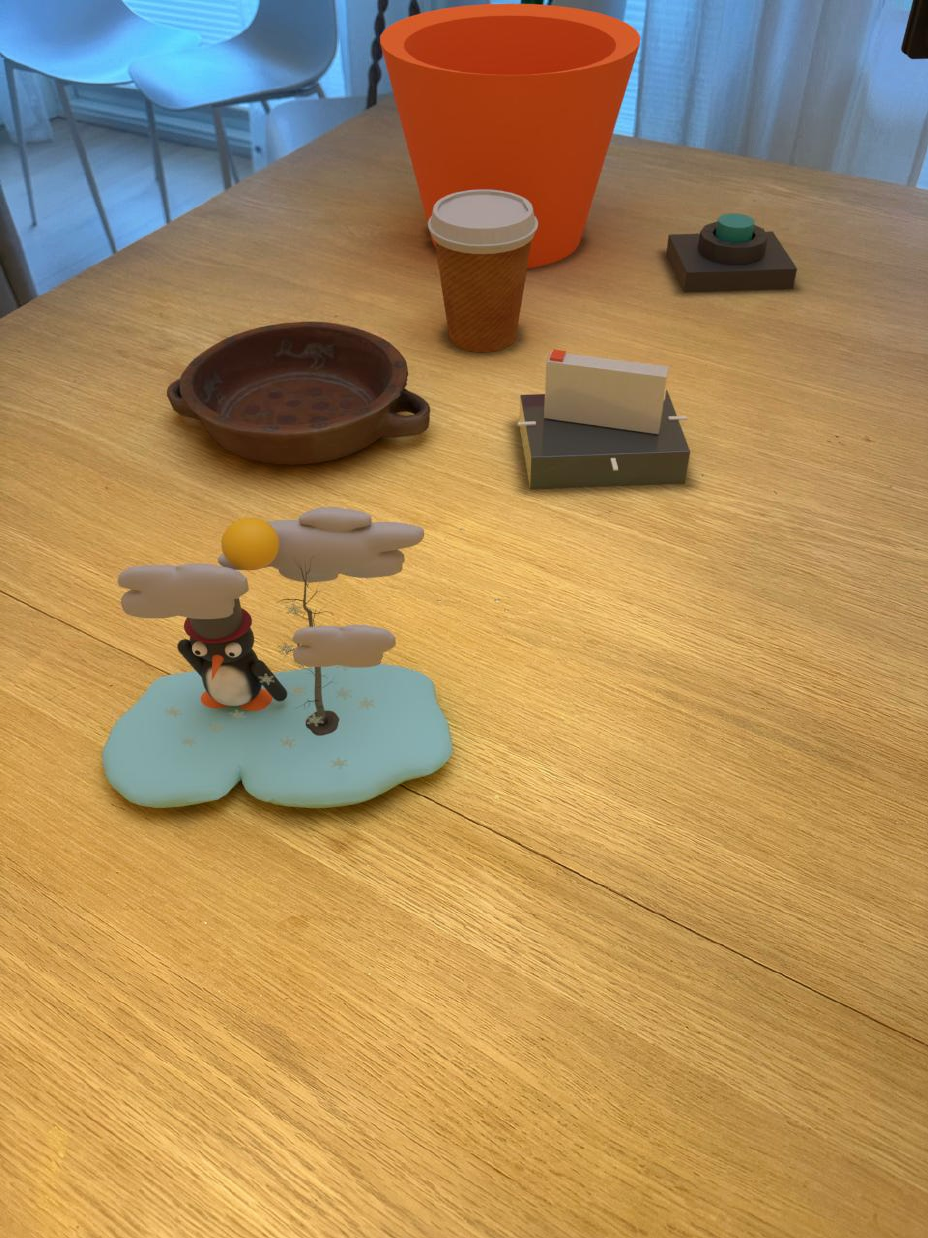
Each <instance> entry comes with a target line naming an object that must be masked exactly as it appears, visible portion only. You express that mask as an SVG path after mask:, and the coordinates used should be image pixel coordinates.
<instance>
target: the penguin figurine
mask: <svg viewBox="0 0 928 1238" xmlns="http://www.w3.org/2000/svg"><path fill="white" fill-rule="evenodd" d="M372 521H373V520H372V515H371V514H370V513H368V512H365V511H361V510H356V509H352V508H344V507H337V506H336V507H335V506H325V507H316V508H313V509H310V510H308V511H306V512H304V513H302V514H301V515H299V517H298V519H279V520H269V521H265V520H263V519H261V518H257V517H243V518H239V519H237V520H235V521H233V522H232V523H230V524H229V526H228V527H226V529H225V530H224V532H223V534H222V536H221V544H220V545H221V550H222V554H220V555H219V556H218V557H217V562H218V564H219V565H217V564H212V563H211V564H210V563H184V564H178V565H170V564H148V565H136V566H135V565H134V566H129V567H128V568H125V569H124V570H122V571H121V572H120V573H119V574H118V578H117V584H118V586H119V587H120V588H122V589H127V591H126V592H124V593H123V594H122V595H121V598H120V605H121V608H122V611H123V613H125V614H126V615H128V616H130V617H133V618H139V619H170V618H173V617H183V618H185V620H184V623H183V630H184V632H185V633H186V635H187V636H188V637H189V639H186V638H183V639H181V640H179V641H178V643H177V645H176V649H177V651H178V652H179V654H180V655H181V656H182V657H183V658H184V659H185V660H186V662H187V663H188V664H189V665H190V666H191V667H192V668H193V670H191V671H184V672H177V673H172V674H171V673H170V674H167V675H164V676H159V678H156V679H154V680H153V681H152V682H151V683H150V685H149V686H148V687H147V689H146V690H145V691H144V693H142V695H141V697H140V698H139V699H138V701H137V702H136V703H134V705H132V706H131V707H130V708H129V709H127V710H126V711H125V712H124V713H123V714H122V715H121V716H120V717H119V718H118V719H117V721H116V722H115V723H114V725H113V726H112V728H111V729H110V732H109V734H108V738H107V740H106V741H105V744H104V745H103V748H102V753H101V758H102V759H101V760H102V762H101V765H102V767H103V769H104V774H105V778H106V780H107V782H108V783H109V784H110V786H111V787H112V788H113V789H114V790H115V791H117V793H118V794H119V795H120V796H121V797H122V798H124V799H126V800H127V801H128V802H130V803H132V804H134V805H138V806H141V807H149V808H154V809H166V808H167V809H168V808H179V807H180V808H181V807H186V806H193V805H199V804H204V803H209V802H213V801H217V800H220V799H221V798H223V797H224V796H227V795H228V793H230V791H231V790H232V789H233V788H234V787H235V786H236V785H237V784H238V783H239V782H242V785H243V787H244V790H245V791H246V792H247V793H248V794H250V796H252V797H253V798H255V799H257V800H258V801H262V802H266V803H270V804H271V803H272V804H273V805H277V806H282V807H293V808H308V809H328V808H340V807H346V806H352V805H357V804H361V803H365V802H368V801H370V800H372V799H374V798H376V797H379V796H381V795H383V794H385V793H387V792H388V791H390V790H391V789H394V788H395V787H396V786H399V785H401V784H403V783H404V782H407V781H411V780H415V779H418V778H423V777H427V776H430V775H432V774H433V773H435V772H437V771H438V770H440V769H442V767H444V765H446V763H447V762H448V760H450V757H452V754H453V752H454V751H453V750H454V749H453V748H454V747H453V741H452V736H451V730H450V724H449V721H448V720H447V717H446V715H445V714H444V712H443V710H442V709H441V707H440V705H439V703H438V700H437V699H438V698H437V694H436V688H435V684H434V681H433V680H432V679H431V678H430V677H429V676H428V675H426V674H424V673H422V671H421V672H420V671H418V670H414V669H411V668H408V667H404V666H400V665H392V664H387V663H382V660H383V657H384V653H386V652H388V651H390V650H392V649H393V648H395V647H396V645H397V641H396V639H397V638H396V636H395V635H394V633H392V632H391V631H389V630H388V629H385V628H383V627H378V626H373V625H367V624H347V625H342V626H338V625H337V626H336V625H323V623H321V624H320V625H317V626H316V625H315V624H316V623H315V617H316V615H319V614H323V613H328V611H322V609H320V610H319V611H318V612H317V610H314V611H312V610H311V609H310V608H308V607H307V604H308V603H309V602H310V601H311V600H312V599H313V598H314V597H315V596H316V594H318V592H319V593H320V590H316V591H315V592H314V594H313V595H312V596H311V598H310V599H308V601H307V588H308V589H310V590H311V591H312V590H313V589H312V588H311V587H310V586H309V584H310V583H312V584H313V583H318V585H317V586H316V588H318V586H319V584H321V582H329V581H330V582H331V581H335V580H337V579H338V577H339V575H343V576H346V577H351V578H357V579H375V578H376V579H377V578H385V577H391V576H395V575H398V574H400V573H401V572H402V571H403V564H404V563H405V562H406V561H405V560H406V559H405V557H406V556H405V554H404V553H403V552H402V551H401V550H403V549H407V548H408V549H409V548H411V547H414V546H417V545H418V544H420V543H421V542H422V541H423V539H424V537H425V529H424V528H423V527H422V526H418V525H415V524H410V523H406V522H405V523H404V522H397V521H373V522H372ZM269 567H272V568H274V569H276V570H278V572H279V575H280V576H283V578H286V579H289V580H291V581H295V582H300V583H304V588H303V599H299V598H288V597H286V596H285V598H284V599H281V600H279V601H277V602H276V604H278V603H280V602H283V601H285V602H284V604H286V603H287V604H288V601H290V603H292V604H291V606H285V609H287V611H285V614H286V615H287V614H288V615H289V614H293V615H294V617H297V616H299V617H300V618H302V619H303V620H307V621H308V626H306V627H302V628H300V629H297V631H295V632H294V634H293V637H292V639H291V638H290V637H288V639H289V640H291V641H292V642H293V643H295V644H296V645H297V646H296V647H295V648H293V647H294V644H290V645H288V643H287V642H286V641H284V642H283V645H277V648H280V650H279V653H281V654H280V656H281V655H284V654H285V656H284V657H286V656H288V655H289V654H290V652H292V657H293V661H294V663H295V664H297V665H299V668H298V669H290V670H284V671H277V672H272V670H271V669H270V668H269V667H268V666H267V664H266V663H265V662H264V661H263V660H261V659H259V657H258V655H257V653H256V651H254V649H253V647H254V645H255V644H254V643H255V634H254V632H253V629H252V628H251V627H252V624H253V618H252V616H251V614H250V613H249V612H248V611H247V610H246V609H244V608H242V605H241V601H240V597H242V596H244V595H245V594H246V593H249V590H250V587H249V583H248V582H249V581H248V578H247V577H246V576H245V575H244V574H242V573H241V572H240V571H257V570H258V571H259V570H262V569H266V568H269ZM325 590H326V589H323V591H325ZM286 601H287V602H286ZM295 601H300V602H302V605H300V606H296V604H295V603H294V602H295ZM279 605H280V606H281V605H282V603H281V604H279ZM327 605H328V603H327V604H326V605H325V607H324V606H323V609H325V608H326V607H327ZM318 607H319V605H317V606H316V608H318ZM302 608H303V610H305V611H304V612H303V611H302V610H301V609H302ZM316 612H317V613H316ZM300 613H301V614H303V615H301V614H300ZM306 613H307V618H305V617H304V616H305V614H306ZM329 613H331V615H332V616H334V614H335V615H336V613H335V612H332V611H329ZM338 616H340V617H341V615H339V614H338ZM280 634H281V635H282V633H280ZM283 637H285V638H287V636H286V634H285V635H284V634H283Z"/></svg>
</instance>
